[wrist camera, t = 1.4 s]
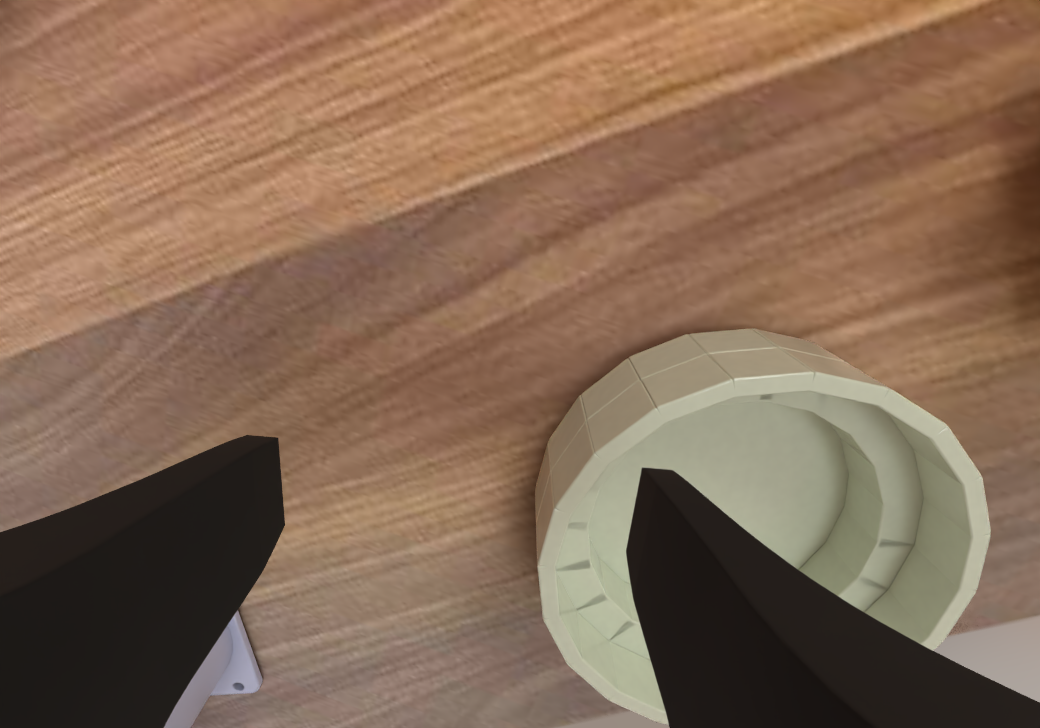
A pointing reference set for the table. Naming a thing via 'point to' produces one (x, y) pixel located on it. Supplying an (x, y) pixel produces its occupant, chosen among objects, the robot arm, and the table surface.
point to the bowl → (755, 492)
